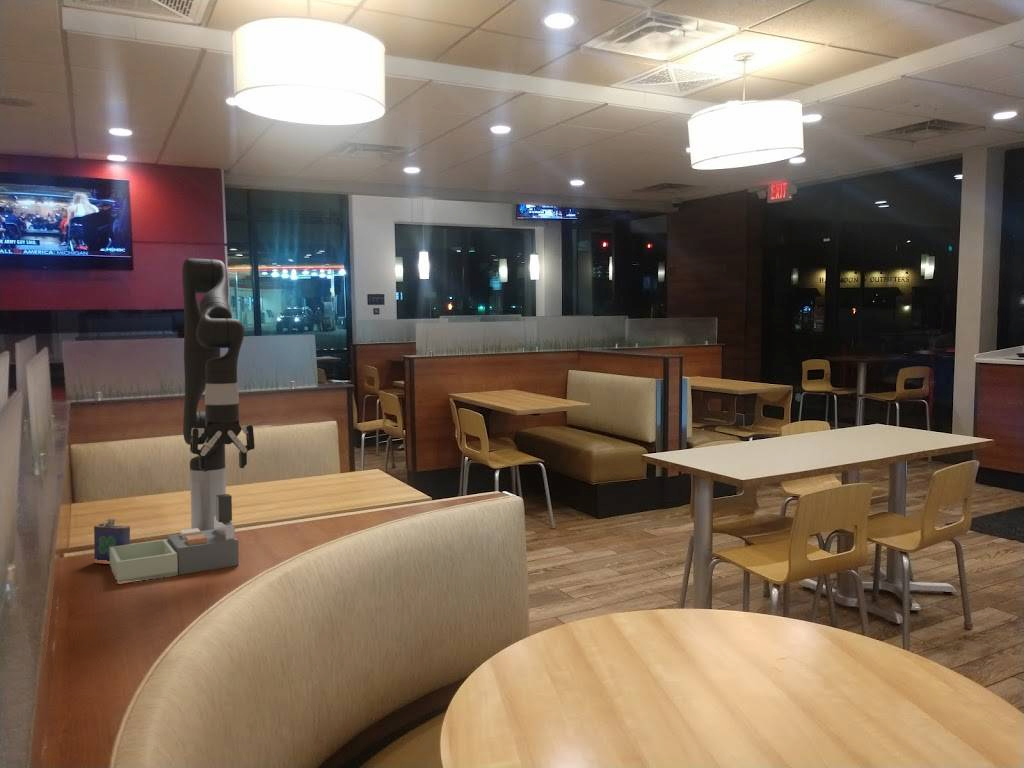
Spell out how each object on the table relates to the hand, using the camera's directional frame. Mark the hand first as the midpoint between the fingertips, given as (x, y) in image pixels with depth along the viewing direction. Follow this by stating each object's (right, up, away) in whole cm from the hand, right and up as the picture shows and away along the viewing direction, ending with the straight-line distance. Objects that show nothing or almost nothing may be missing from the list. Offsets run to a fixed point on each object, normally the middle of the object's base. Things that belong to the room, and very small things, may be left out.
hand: (223, 469), depth 179 cm
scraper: (0, -16, +1) cm, 16 cm away
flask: (-26, -22, -2) cm, 34 cm away
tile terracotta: (-4, -16, -6) cm, 18 cm away
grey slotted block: (-4, -22, -2) cm, 22 cm away
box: (-15, -22, -9) cm, 28 cm away
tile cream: (-8, -16, 0) cm, 18 cm away
